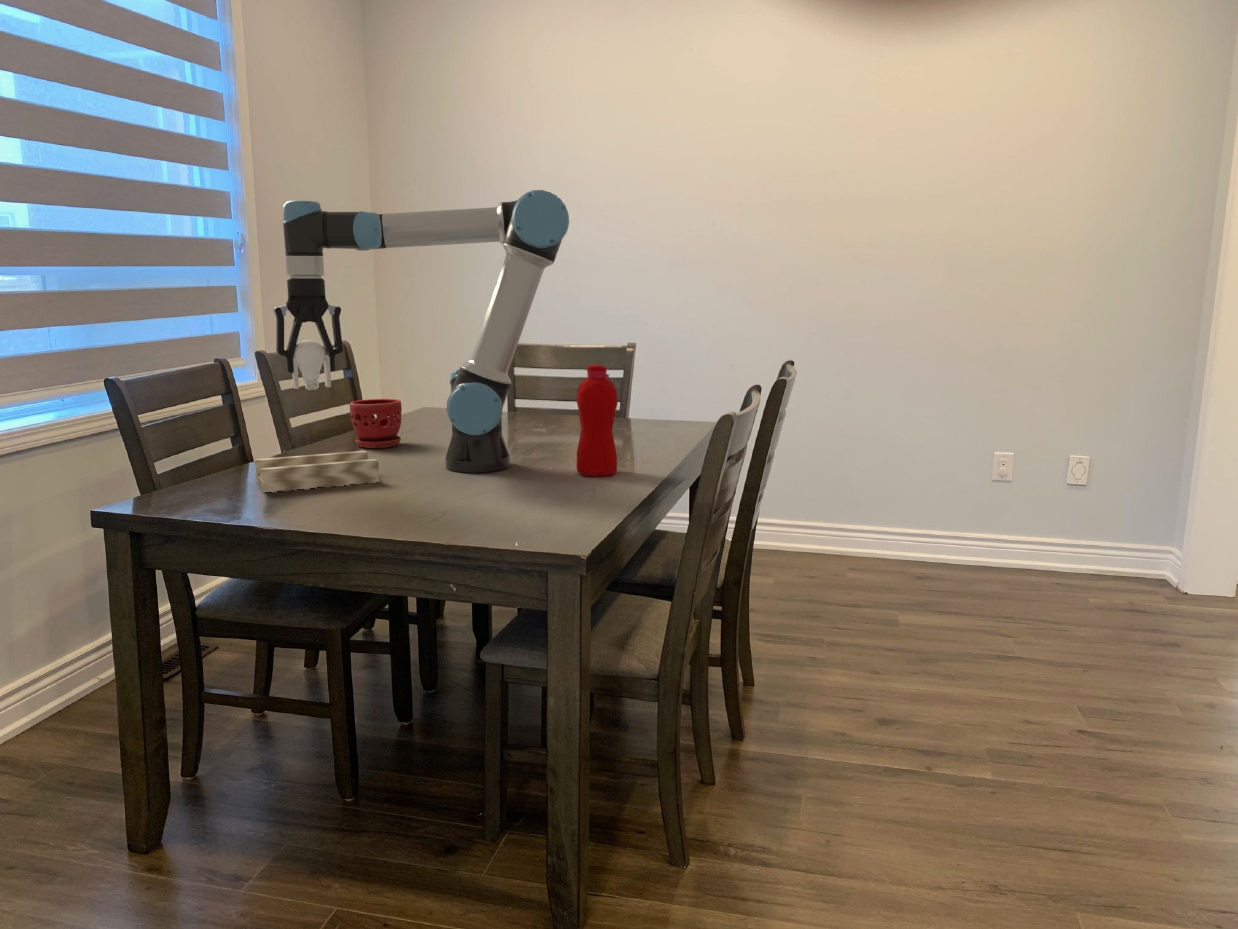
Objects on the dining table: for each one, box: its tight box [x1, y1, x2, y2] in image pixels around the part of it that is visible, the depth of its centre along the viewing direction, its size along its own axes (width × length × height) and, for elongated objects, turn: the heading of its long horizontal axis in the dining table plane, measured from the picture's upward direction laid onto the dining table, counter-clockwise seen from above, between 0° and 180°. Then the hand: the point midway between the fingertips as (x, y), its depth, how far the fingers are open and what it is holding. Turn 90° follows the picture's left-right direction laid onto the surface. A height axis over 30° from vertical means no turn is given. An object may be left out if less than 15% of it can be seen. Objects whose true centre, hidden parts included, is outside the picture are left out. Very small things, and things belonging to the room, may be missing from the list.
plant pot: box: [349, 398, 403, 449], centre depth 249 cm, size 13×13×12 cm
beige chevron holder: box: [254, 450, 380, 494], centre depth 207 cm, size 24×12×5 cm, turn 117°
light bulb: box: [293, 339, 326, 392], centre depth 203 cm, size 7×7×11 cm
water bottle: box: [575, 363, 626, 477], centre depth 216 cm, size 9×11×25 cm
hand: (312, 387), depth 204 cm, fingers closed on light bulb, 6 cm apart
